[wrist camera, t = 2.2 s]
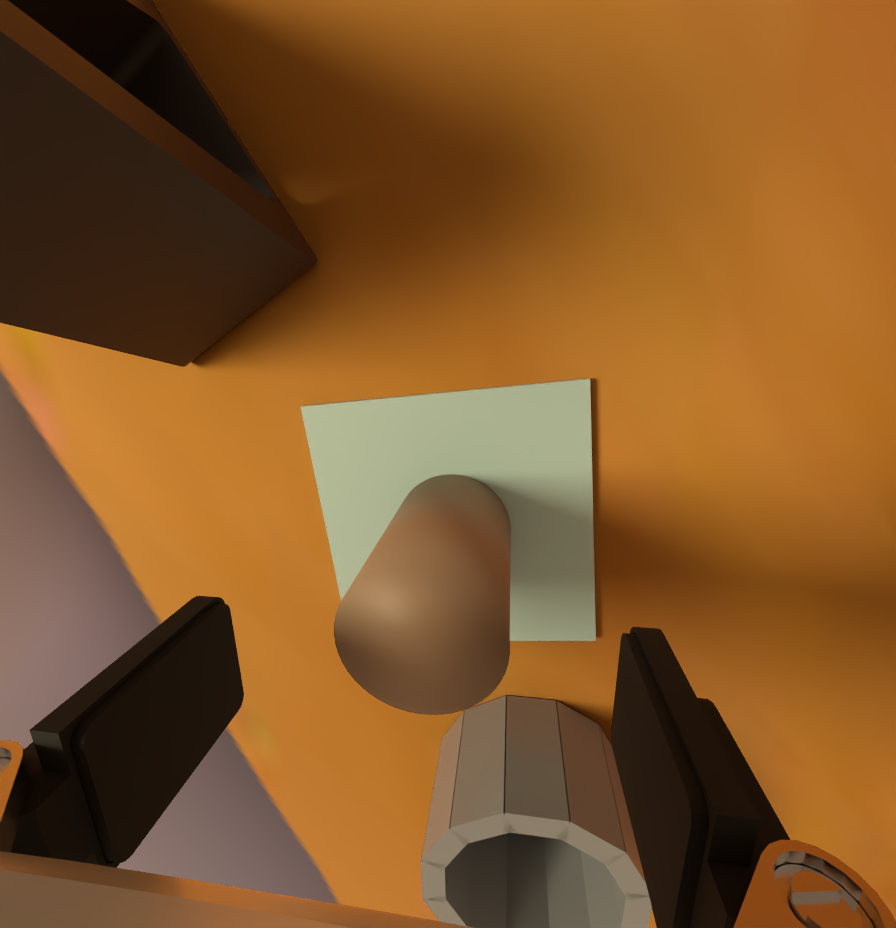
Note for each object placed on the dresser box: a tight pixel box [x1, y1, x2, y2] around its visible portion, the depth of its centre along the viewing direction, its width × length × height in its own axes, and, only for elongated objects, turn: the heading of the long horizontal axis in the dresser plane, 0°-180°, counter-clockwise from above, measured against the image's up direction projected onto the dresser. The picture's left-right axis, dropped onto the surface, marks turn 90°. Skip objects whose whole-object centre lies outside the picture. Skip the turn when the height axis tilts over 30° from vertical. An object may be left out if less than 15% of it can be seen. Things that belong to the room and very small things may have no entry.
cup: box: [421, 696, 652, 928], centre depth 16 cm, size 7×7×4 cm
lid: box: [301, 378, 596, 715], centre depth 13 cm, size 10×10×7 cm
